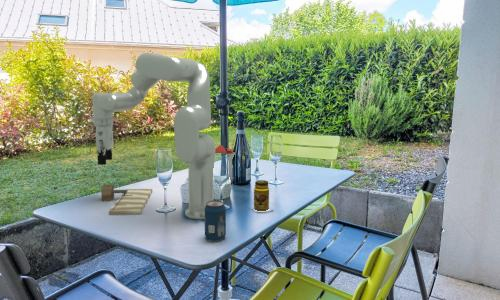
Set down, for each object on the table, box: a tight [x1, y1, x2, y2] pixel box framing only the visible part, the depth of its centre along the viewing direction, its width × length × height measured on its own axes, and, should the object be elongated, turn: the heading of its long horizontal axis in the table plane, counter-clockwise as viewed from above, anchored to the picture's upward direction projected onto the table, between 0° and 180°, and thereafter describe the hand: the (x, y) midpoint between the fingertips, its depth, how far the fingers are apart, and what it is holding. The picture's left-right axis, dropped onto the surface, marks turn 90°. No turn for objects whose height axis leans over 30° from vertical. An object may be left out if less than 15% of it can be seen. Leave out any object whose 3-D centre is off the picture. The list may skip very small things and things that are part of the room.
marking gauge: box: [100, 184, 127, 202], centre depth 161 cm, size 5×10×6 cm, turn 96°
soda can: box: [204, 200, 227, 242], centre depth 121 cm, size 7×7×12 cm
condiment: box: [253, 179, 270, 211], centre depth 149 cm, size 7×8×12 cm
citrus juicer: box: [215, 144, 236, 183], centre depth 187 cm, size 16×17×20 cm
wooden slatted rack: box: [108, 188, 153, 216], centre depth 157 cm, size 30×12×2 cm, turn 6°
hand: (105, 162), depth 158 cm, fingers open, 9 cm apart
